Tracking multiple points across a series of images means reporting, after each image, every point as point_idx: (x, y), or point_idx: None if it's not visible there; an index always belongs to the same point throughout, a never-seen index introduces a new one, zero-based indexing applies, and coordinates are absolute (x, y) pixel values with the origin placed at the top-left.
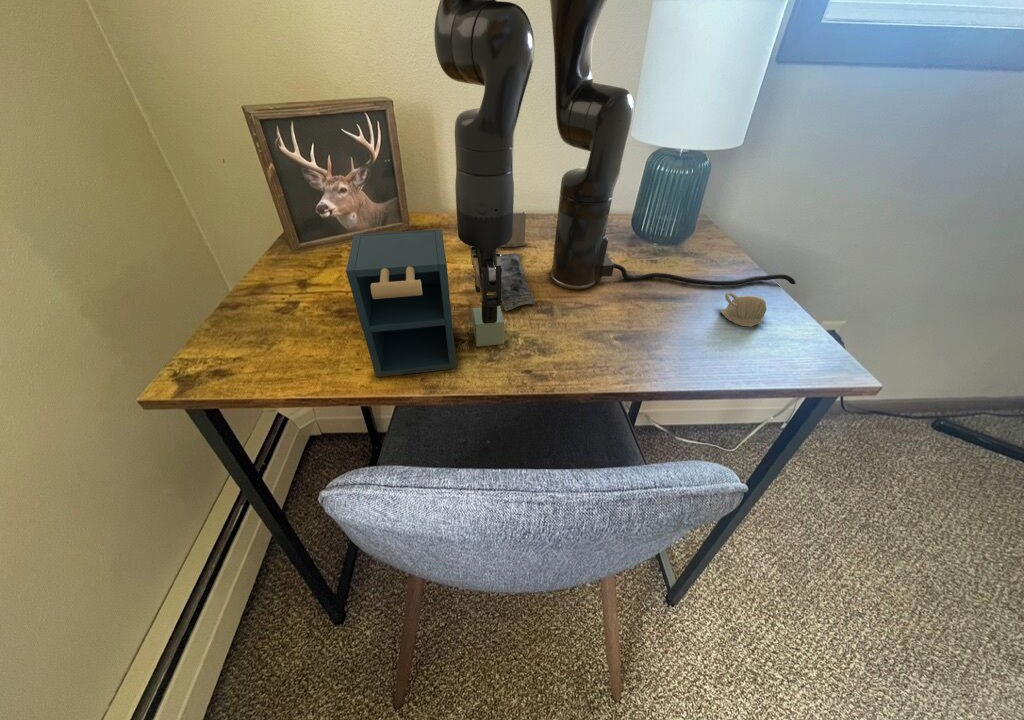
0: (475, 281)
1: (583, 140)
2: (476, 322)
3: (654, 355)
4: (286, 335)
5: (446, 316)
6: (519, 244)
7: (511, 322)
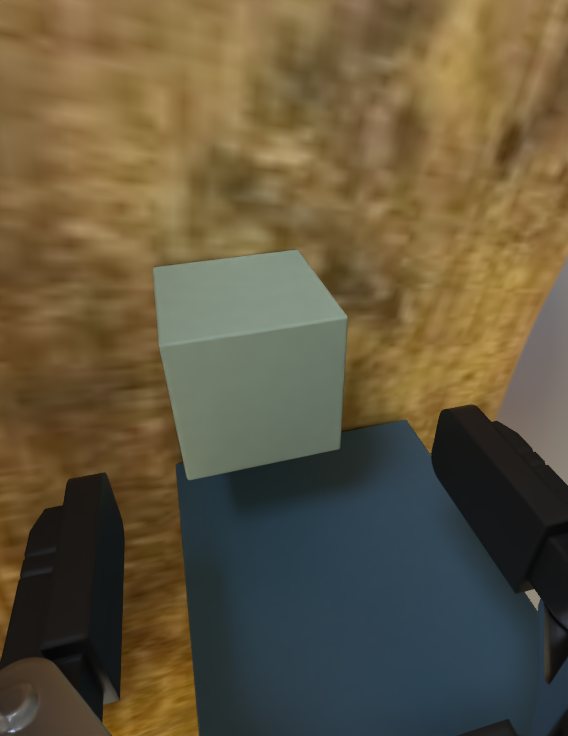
0: (120, 616)
1: None
2: (322, 448)
3: None
4: (196, 732)
5: None
6: None
7: (97, 190)
